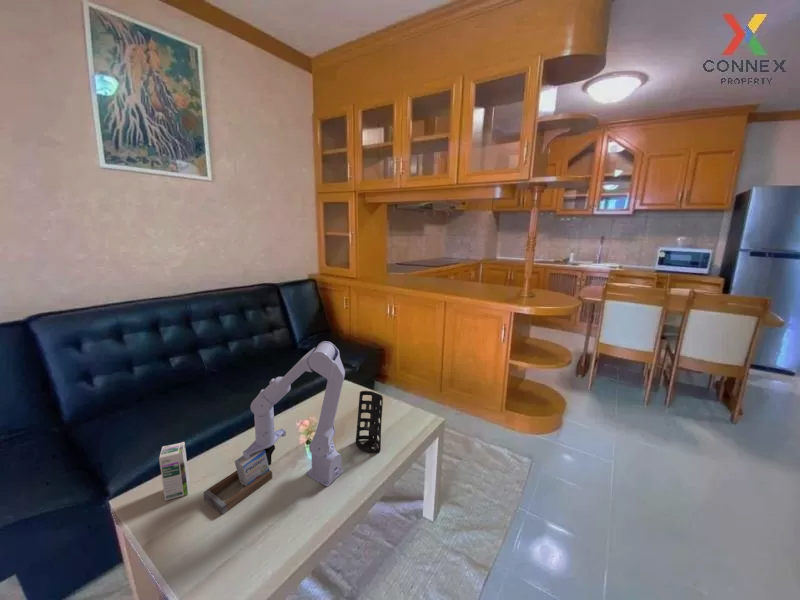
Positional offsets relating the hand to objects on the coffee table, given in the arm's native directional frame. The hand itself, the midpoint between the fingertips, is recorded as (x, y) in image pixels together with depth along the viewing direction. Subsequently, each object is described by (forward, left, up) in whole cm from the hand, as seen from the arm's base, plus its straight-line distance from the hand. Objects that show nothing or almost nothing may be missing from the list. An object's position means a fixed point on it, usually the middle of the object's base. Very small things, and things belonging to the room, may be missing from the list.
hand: (266, 464), depth 109 cm
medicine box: (0, +4, -1) cm, 5 cm away
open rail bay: (0, +9, -2) cm, 9 cm away
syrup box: (+14, +21, -2) cm, 25 cm away
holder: (-20, -29, -2) cm, 36 cm away
